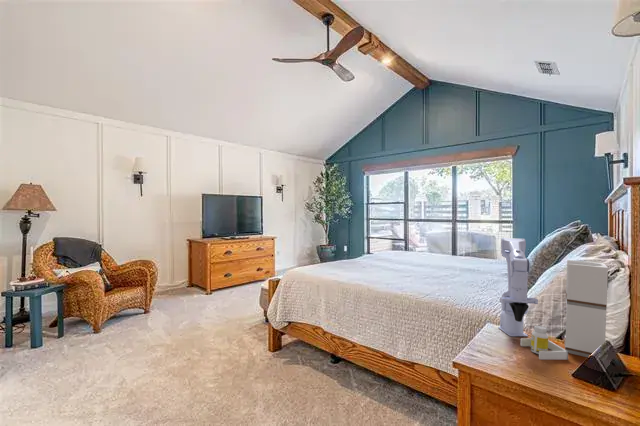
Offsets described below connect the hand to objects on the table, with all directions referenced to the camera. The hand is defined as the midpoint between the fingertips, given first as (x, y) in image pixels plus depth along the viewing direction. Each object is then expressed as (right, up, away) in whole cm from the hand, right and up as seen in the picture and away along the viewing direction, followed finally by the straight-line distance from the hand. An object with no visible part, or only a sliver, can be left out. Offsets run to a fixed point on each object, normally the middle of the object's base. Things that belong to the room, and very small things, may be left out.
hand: (518, 320), depth 126 cm
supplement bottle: (+5, -11, -5) cm, 13 cm away
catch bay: (+6, -11, -5) cm, 13 cm away
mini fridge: (+23, -11, -4) cm, 26 cm away
